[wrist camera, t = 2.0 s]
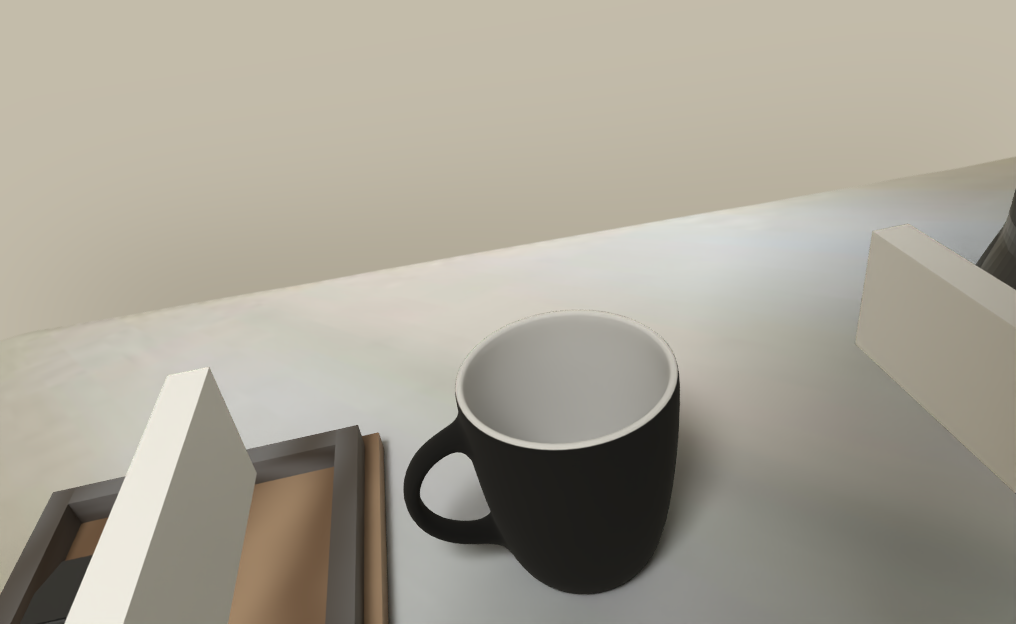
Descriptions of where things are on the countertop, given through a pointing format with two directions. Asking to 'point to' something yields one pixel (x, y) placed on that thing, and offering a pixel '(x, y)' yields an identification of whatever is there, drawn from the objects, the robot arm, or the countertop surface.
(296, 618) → the wooden tray
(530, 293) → the countertop surface
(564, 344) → the mug
